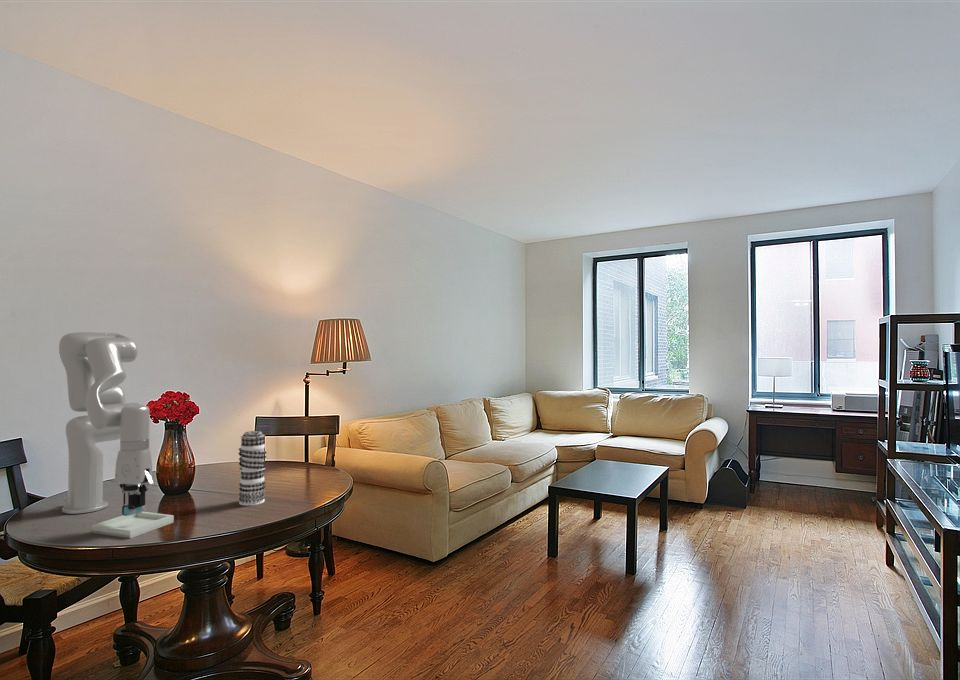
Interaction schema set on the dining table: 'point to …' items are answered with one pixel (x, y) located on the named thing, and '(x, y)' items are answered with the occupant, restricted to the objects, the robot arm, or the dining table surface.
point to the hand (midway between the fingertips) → (134, 505)
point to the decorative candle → (252, 468)
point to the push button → (130, 501)
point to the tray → (132, 524)
